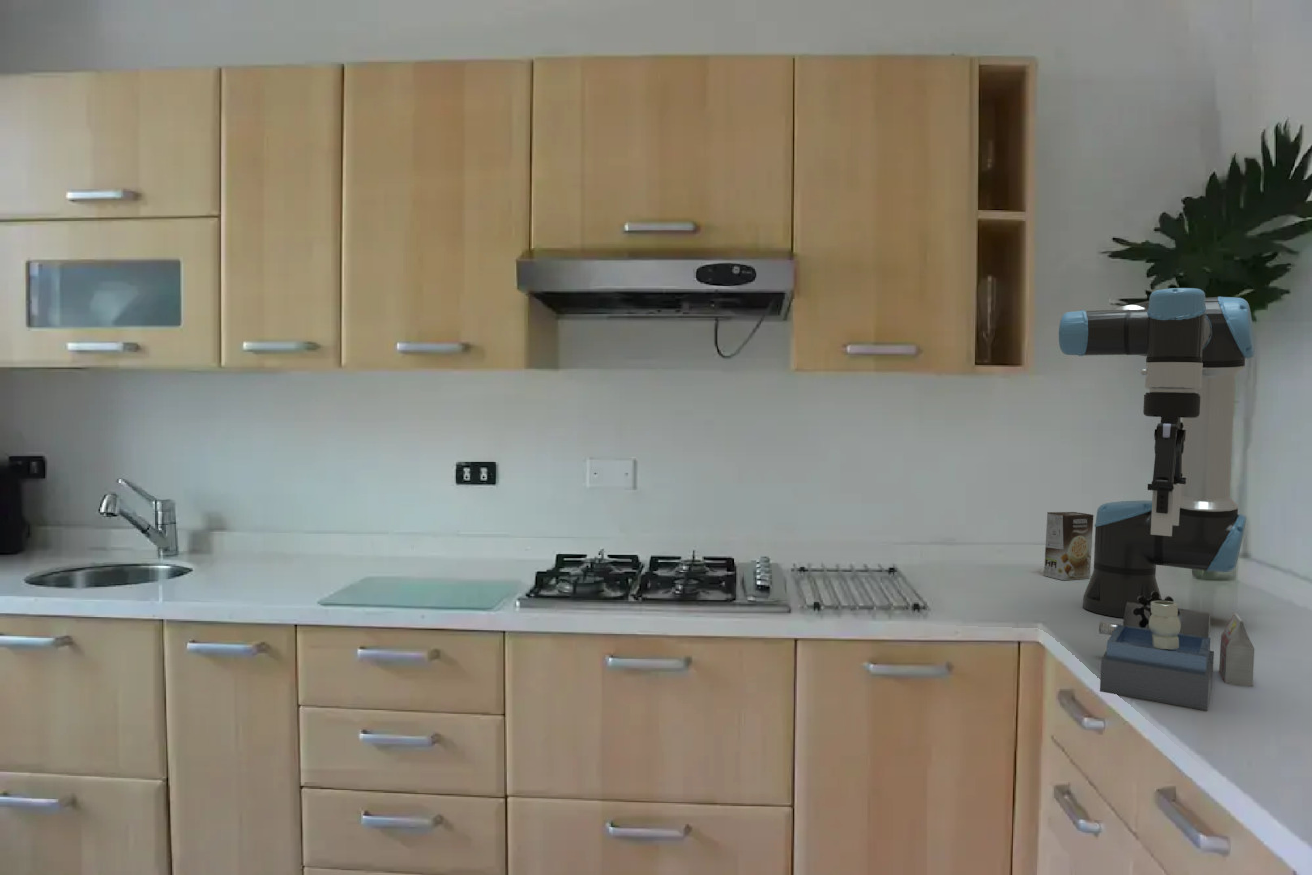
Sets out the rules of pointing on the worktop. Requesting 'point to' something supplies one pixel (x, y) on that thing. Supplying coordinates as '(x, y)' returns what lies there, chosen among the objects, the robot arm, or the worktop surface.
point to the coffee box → (1068, 545)
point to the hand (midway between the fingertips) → (1165, 530)
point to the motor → (1159, 661)
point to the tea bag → (1236, 654)
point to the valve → (1160, 620)
